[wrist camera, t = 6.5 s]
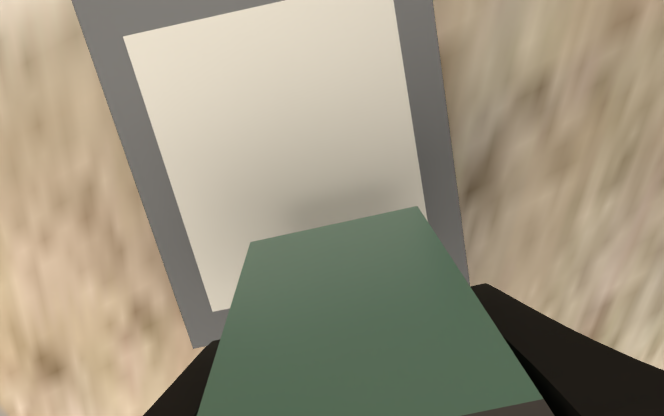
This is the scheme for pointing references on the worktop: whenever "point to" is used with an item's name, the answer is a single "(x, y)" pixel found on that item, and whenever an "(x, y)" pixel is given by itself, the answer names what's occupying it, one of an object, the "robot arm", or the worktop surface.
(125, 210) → the worktop surface
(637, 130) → the worktop surface
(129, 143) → the grey picture frame
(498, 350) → the green and grey block
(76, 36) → the worktop surface
